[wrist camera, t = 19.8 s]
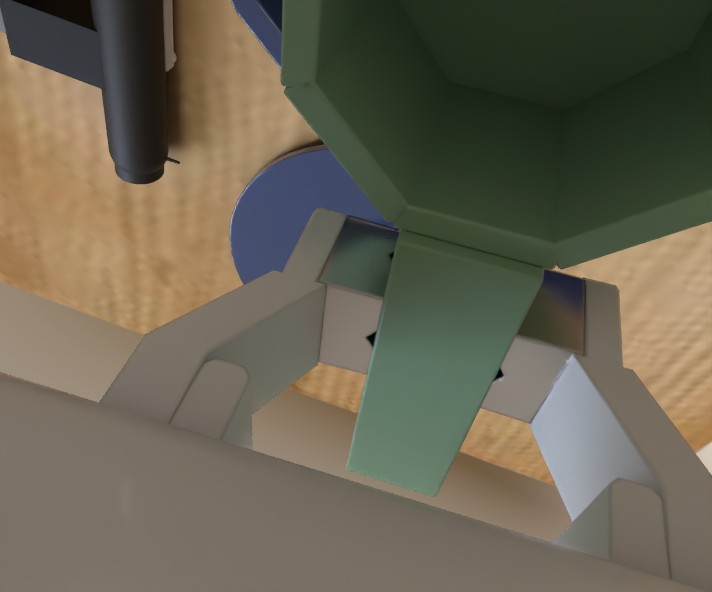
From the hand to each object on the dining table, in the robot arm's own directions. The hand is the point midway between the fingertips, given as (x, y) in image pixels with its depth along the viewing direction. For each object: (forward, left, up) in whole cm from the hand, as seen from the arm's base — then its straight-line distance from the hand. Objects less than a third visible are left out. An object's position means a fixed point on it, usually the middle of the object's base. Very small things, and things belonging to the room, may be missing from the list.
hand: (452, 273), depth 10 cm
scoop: (-1, 0, -2) cm, 3 cm away
